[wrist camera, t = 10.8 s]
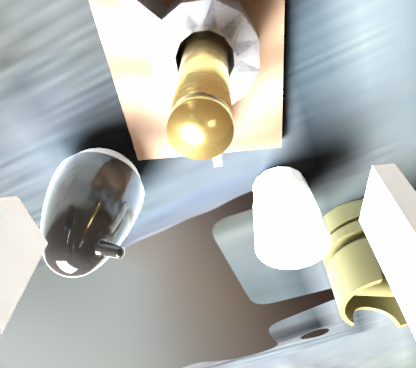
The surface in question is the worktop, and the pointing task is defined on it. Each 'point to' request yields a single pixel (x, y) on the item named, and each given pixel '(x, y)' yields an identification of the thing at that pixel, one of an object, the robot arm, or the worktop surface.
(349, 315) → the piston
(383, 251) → the robot arm
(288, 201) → the white cup
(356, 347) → the worktop surface
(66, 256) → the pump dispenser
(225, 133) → the pin
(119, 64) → the mount board
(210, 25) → the white piece
